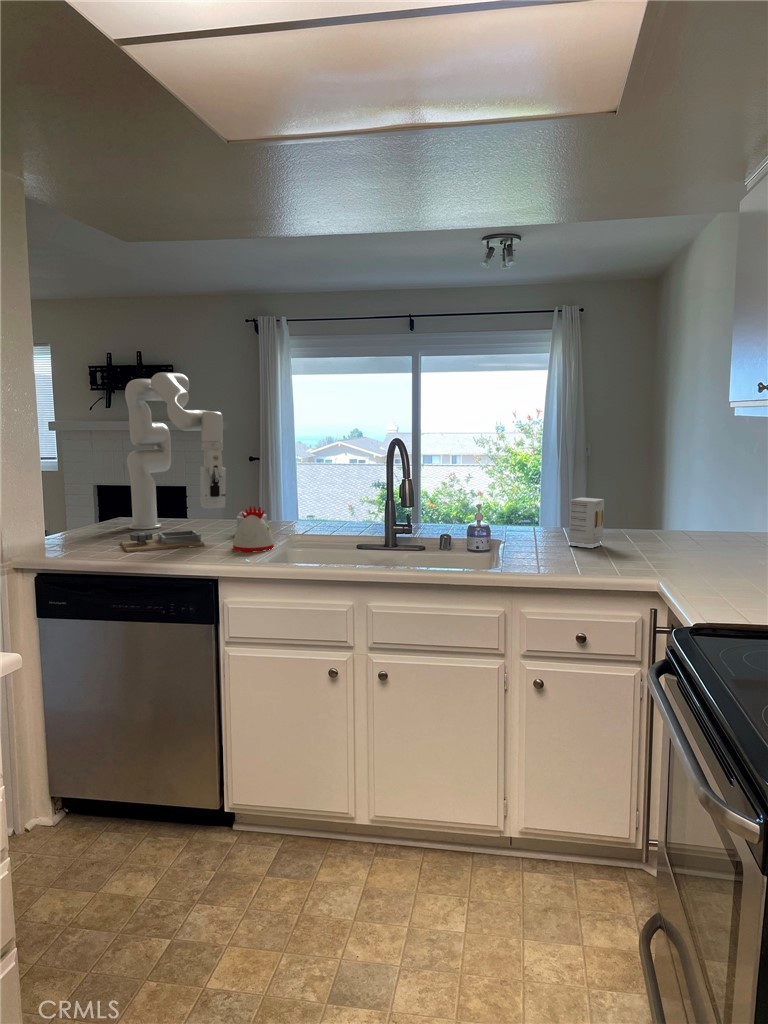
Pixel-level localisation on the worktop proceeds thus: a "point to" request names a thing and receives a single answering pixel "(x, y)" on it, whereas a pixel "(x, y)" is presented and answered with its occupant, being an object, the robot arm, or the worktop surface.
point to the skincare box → (205, 484)
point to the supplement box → (586, 520)
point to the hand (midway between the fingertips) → (212, 494)
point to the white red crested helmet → (253, 533)
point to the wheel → (141, 536)
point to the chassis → (165, 541)
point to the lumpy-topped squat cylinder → (240, 516)
